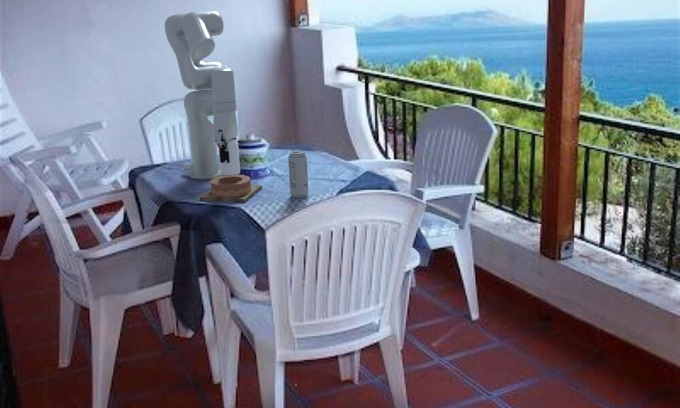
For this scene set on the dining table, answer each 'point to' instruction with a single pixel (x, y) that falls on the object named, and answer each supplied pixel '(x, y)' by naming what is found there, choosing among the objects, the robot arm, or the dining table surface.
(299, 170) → the energy drink can
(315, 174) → the dining table surface
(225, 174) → the can
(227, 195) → the socket block
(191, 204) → the dining table surface
